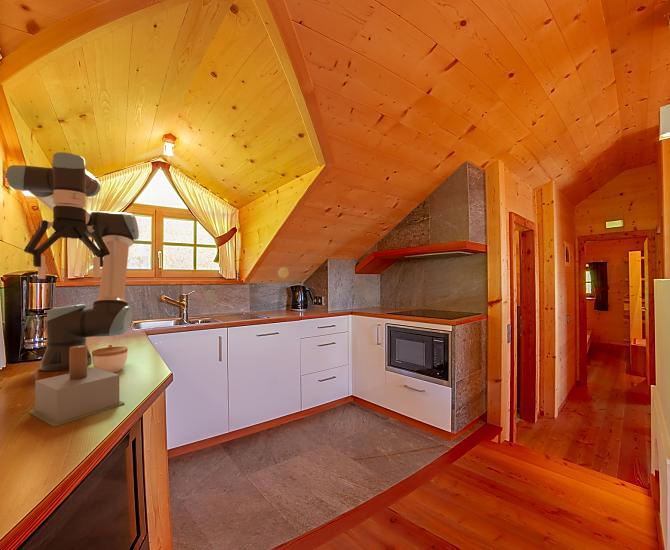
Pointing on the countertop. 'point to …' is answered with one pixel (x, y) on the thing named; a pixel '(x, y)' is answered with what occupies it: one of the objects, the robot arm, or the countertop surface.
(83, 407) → the cover
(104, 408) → the mat
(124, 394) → the countertop surface
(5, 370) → the countertop surface
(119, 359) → the lidded jar
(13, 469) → the countertop surface
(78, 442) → the countertop surface
